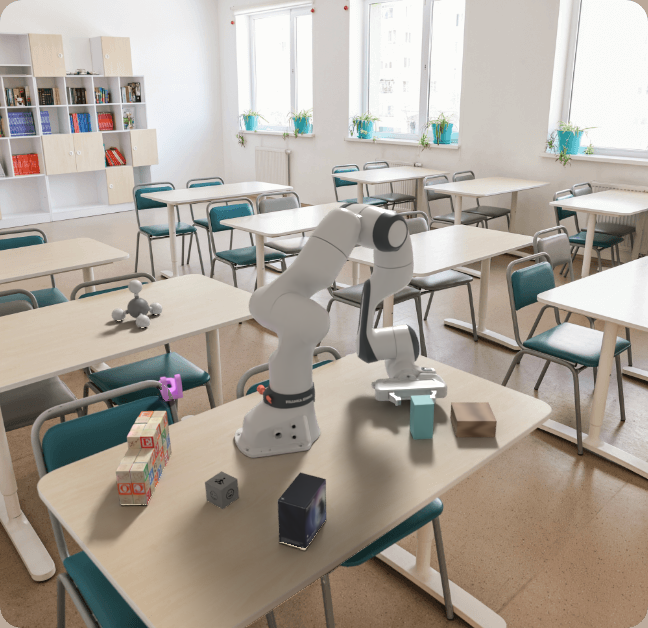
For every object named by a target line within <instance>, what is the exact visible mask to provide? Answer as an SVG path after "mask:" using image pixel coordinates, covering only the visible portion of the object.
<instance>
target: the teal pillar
mask: <svg viewBox="0 0 648 628" xmlns="http://www.w3.org/2000/svg"><path fill="white" fill-rule="evenodd" d="M409 407H410V408H409V409H410V411H409V431H410V434H411V437H412V438H413V440H429V439H433V438H434V418H435V417H434V416H435V414H434V413H435V412H434V411H435V404H434V403H433V401H432V399H431V396H430V395H417V396H411V400H410V406H409Z"/></svg>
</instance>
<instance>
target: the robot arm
mask: <svg viewBox="0 0 648 628" xmlns="http://www.w3.org/2000/svg"><path fill="white" fill-rule="evenodd" d="M412 243H413V242H412V239H411V235H410V230H409V228H408V224H407V220H406V219H405V217H404V216H403V215H401V214H400V213H399V212H396V211H394V210H388V209H387V208H386V209H385V208H384V207H380V206H377V205H373V204H367V203H359V202H356V201H355V202H346V203H343V204H342V205H340V206H339V207H335V208H333V209H330V211H329V212H328V213H327V214H326V215H324V217H323V218H322V219H321V220H320V222H319V223H318V224H317V226H316V227H315V228H314V229H313V231H312V233H311V234H310V236H309V238H308V239H307V241H306V242H305V244H304V246H302V248H301V250H300V251H299V253H298V255H297V256H296V257H295V259H294V260H293V261H292V262H291V263H290V265H289V266H288V267H287V268H286V269H285V270H284V271H283V272H282V273H281V274H280V275H278V276H277V278H275V279H274V280H272V281H271V282H269V283H268V284H265V285H263V286H259V287H258V288H256V290H254V292H252V294H251V295H250V297H249V301H248V312H249V313H250V315H251V318H253V319H254V320H255V321H256V322H257V323H258V324H259V325H260V326H262V327H263V328H266V329H267V330H268V331H271V332H273V333H275V334H276V335H277V338H278V341H277V342H278V343H277V347H276V349H275V350H274V351H273V352H272V353H271V354H270V355H269V357H268V361H267V363H268V378H269V384H268V386H267V387H265V386H264V385H263V384H259V385H258V386H257V387H256V392H258V394H259V395H262V399H261V400H260V401H259V402H258V403H257V404H256V405H254V406H253V408H251V409H250V410H249V411H248V412H246V414H245V415H244V417H243V422H242V427H239V428H238V429H237V428H236V430H235V433H234V442H235V445H236V447H237V448H238V450H239V451H240V452H241V453H242V454H243V455H245V456H247V457H249V458H252V459H253V458H255V459H256V458H261V457H269V456H276V455H284V454H290V453H296V452H297V453H298V452H303V451H308V450H310V449H311V447H312V444H313V443H314V442H315V441H317V439H318V438H319V437H320V436H321V435H320V434H321V428H320V426H319V423H318V419H317V414H316V408H315V402H316V389H315V382H314V380H313V379H314V378H313V359H314V358H313V357H314V353H315V349H316V347H317V345H318V344H320V343H321V342H322V341H323V340H324V339H325V338H326V337H327V335H328V333H329V332H330V331H329V330H330V328H331V316H330V313H329V312H328V310H327V309H326V308H325V307H323V306H322V305H321V304H320V303H318V301H316V300H314V299H312V297H313V296H315V295H316V294H317V293H320V291H323V290H325V289H326V290H327V289H328V288H330V287H331V286H332V285H333V284H334V282H335V281H336V279H337V277H338V276H339V274H340V273H341V271H342V269H343V267H344V266H345V264H346V262H347V261H348V259H349V258H350V256H351V254H352V253H353V250H354V249H355V246H356V245H358V246H361V247H362V248H366V249H370V250H373V254H372V255H373V256H372V257H373V270H372V273H371V275H370V276H369V278H367V279H366V280H365V281H364V283H363V285H362V286H363V287H362V292H361V297H360V298H361V299H360V308H359V318H358V327H357V333H356V338H355V348H354V349H355V352H356V355H357V358H358V359H360V360H361V361H363V362H365V363H366V364H371V363H376V362H380V361H384V367H385V371H386V374H387V376H388V378H378V379H376V380H375V381H372V382H371V384H370V385H371V387H372V389H374V398H375V401H379V402H389V401H390V402H391V403H393V404H394V405H395V407H396V406H402V401H407V400H409V401H411V396H417V395H430V396H431V399H432V401H433V403H434V405H436V402H437V399H444V398H446V397H447V395H448V385H447V382H446V381H445V380H444V379H443V377H442V376H441V375H440V374H437V370H436V368H432V367H425V366H421V365H420V366H419V365H417V364H416V363H415V362H416V361H417V360H418V358H419V357H420V356H419V355H420V342H419V338H418V335H417V333H416V331H415V330H414V328H412V327H411V326H410V325H409V324H407V323H406V324H397V325H391V326H386V327H379V328H378V327H377V328H374V320H375V314H376V313H375V312H376V309H377V306H378V305H379V304H380V303H381V302H383V301H384V300H386V299H388V298H390V297H391V296H394V295H395V294H397V293H400V292H401V291H402V290H403V289H406V287H407V286H408V285H409V284H410V282H411V281H412V279H413V278H414V277H413V276H414V251H413V245H412Z"/></svg>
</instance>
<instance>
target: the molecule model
mask: <svg viewBox="0 0 648 628" xmlns="http://www.w3.org/2000/svg"><path fill="white" fill-rule="evenodd" d="M127 285H128V286H127V288H128V291H129V292H130V293H132V294H133V296H134V297H133V298H132V299H130V301H128V304H127V307H126V308H127V309H126V310H124V309H122V308H121V307H120V308H115V309H114V310H113V309H112V312H111V318H112V320H114V321H115V320H122V319H124V318H125V319H126V316H127V315H130V317H132V318H134V319H135V325H136V326H137V327H138V328H139V327H147V326H148V327H150V325H151V319H150V317H149V316H147V315H148V313H150V314H151V315H152V314H159V315H161V314H162V312H163V306H162V304H160V303H159V302H152V303H150V305H149V302H147V300H146V299H145V298H142V297H140V296H139V295H140V294H139V293H140V292H141V291H142V289H143V283H142V282H141V281H140V280H138V279H132V280H130V281H129V282H128V284H127ZM160 313H161V314H160ZM125 319H124V320H125ZM148 327H147V328H148Z"/></svg>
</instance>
